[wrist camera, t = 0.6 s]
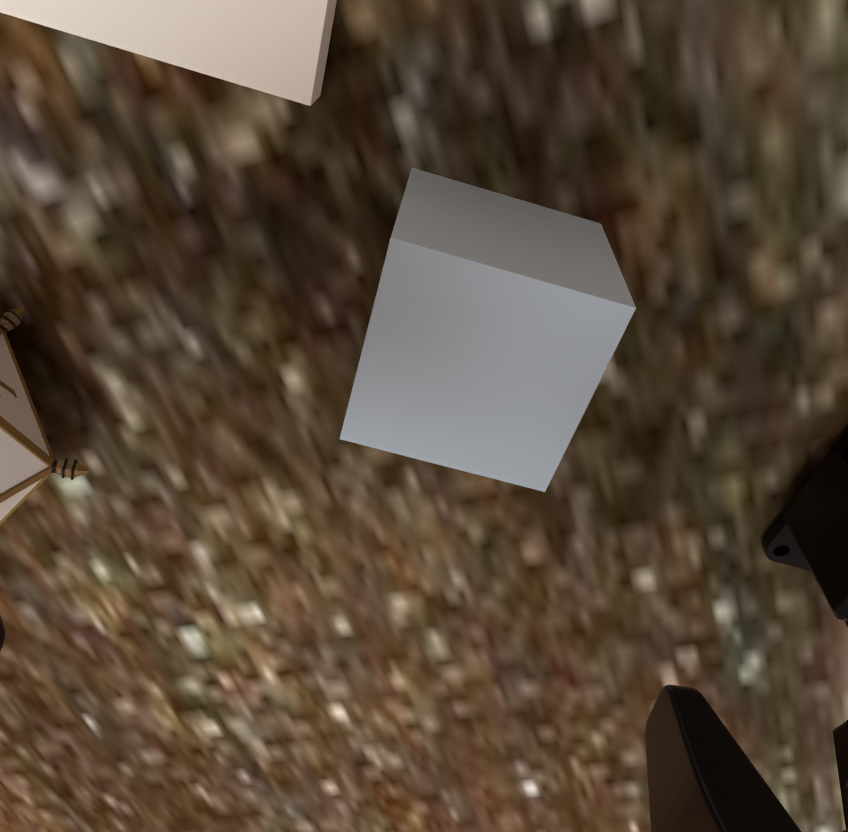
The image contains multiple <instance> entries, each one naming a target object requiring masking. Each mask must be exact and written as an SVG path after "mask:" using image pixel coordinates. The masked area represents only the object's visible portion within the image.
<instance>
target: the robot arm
mask: <svg viewBox="0 0 848 832" xmlns="http://www.w3.org/2000/svg"><path fill="white" fill-rule="evenodd" d="M781 545H783V546H781ZM778 546H781V547H778ZM776 547H778V548H776ZM762 548H763V550H764V552H765V555H766V556H767V557H768V559H770V560H772V561H775V562H779V563H783V564H787V565H791V566H795V567H799V568H803V569H806V570H810V571H812V573H813V575H814V577H815V579H816V581H817V583H818V585H819V587H820V589H821V590H822V592H823V594H824V596H825V598H826V600H827V602H828V604H829V606H830V608H831V610H832V612H833V614H834V615H835V617H836V618H837V619H840V620H844V621H845V623H846V625H847V627H848V431H847V432H846V433H845V435H844V436H843V437H842V438H841V440H840V441H839V442H838V444H837V445H836V446H835V447H834V449H833V450H832V451H831V453H830V454H829V455H828V456H827V458H826V459H825V460H824V462H823V463H822V464H821V465H820V467H819V468H818V469H817V471H816V472H815V473H814V474H813V476H812V477H811V478H810V480H809V481H808V482H807V483H806V485H805V486H804V487H803V489H802V490H801V491H800V492H799V494H798V495H797V496H796V498H795V499H794V500H793V501H792V503H791V504H790V505H789V507H788V508H787V509H786V510H785V512H784V513H783V514H782V516H781V517H780V518H779V519H778V521H777V522H776V523H775V525H774V526H773V527H772V528H771V530H770V531H769V532H768V534H767V535H766V536H765V537H764V539H763V541H762ZM4 639H5V627H4V624H3V622H2V619H1V616H0V651H1V649H2V646H3V643H4ZM833 737H834V744H835V751H836V759H837V766H838V774H839V781H840V788H841V796H842V803H843V811H844V818H845V825H846V830H845V831H843V832H848V720H847V721H846V722H844V723H843V724H841V725H840V726H839V727H837V728H836V729H834V730H833ZM645 739H646V756H647V772H648V788H649V804H650V820H651V832H801V831H800V829H799V828H798V827H797V825H796V824H795V822H794V821H793V820H792V818H791V817H790V816H789V814H788V813H787V811H786V810H785V809H784V807H783V806H782V804H781V803H780V802H779V800H778V799H777V798H776V796H775V795H774V793H773V792H772V791H771V789H770V788H769V787H768V785H767V784H766V782H765V781H764V780H763V778H762V777H761V775H760V774H759V773H758V771H757V770H756V769H755V767H754V766H753V764H752V763H751V762H750V760H749V759H748V758H747V756H746V755H745V753H744V752H743V751H742V749H741V748H740V746H739V745H738V744H737V742H736V741H735V740H734V738H733V737H732V735H731V734H730V733H729V731H728V730H727V729H726V727H725V726H724V724H723V723H722V722H721V720H720V719H719V717H718V716H717V715H716V713H715V712H714V711H713V709H712V708H711V706H710V705H709V704H708V702H707V701H706V700H705V698H704V697H703V696H702V694H701V693H700V692H699V691H697V690H696V689H694V688H690V687H682V686H675V685H666V686H665V687H663V689H662V690H661V692H660V694H659V696H658V698H657V700H656V703H655V705H654V707H653V709H652V711H651V713H650V715H649V718H648V720H647V724H646V733H645Z"/></svg>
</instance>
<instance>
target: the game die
mask: <svg viewBox="0 0 848 832" xmlns="http://www.w3.org/2000/svg"><path fill="white" fill-rule="evenodd" d="M24 308H25V306H23V307H19V308H15V309H11V310H10V309H6V310H5V311H6V312H5V313H4V315H0V525H1V524H2V523H3V522H4V521H5V520H6V519H7V518H8V517H9V516H10V515H11V514H12V513H13V512H14V511H15V510H16V509H17V508H18V507H19V506H20V505H21V504H22V503H23V502H24V501H25V500H26V499H27V498H28V497H29V496H30V495H31V494H32V493H33V492H34V490H35V489H36V488H37V487H38V486H39V485H40V484H41V483H42V482H43V481H44V480H45V479H46V478H47V477H48V476H49V475H50V474H51V473H58V474H60V475H62V478H64V477H65V476H66V477H71V480H73V479H74V477H77V476H80V475H82V474H85V473H88V472H90V471H89V470H87V469H86V468H85V467H83V466H82V465H81V464H79V463H78V461H77V460H76V459H75V460H74V461H69V460H68V459H66V458H65V460H62V461H57V460H55V458H54V455H53V452H52V450H51V447H50V445H49V442H48V440H47V437H46V435H45V432H44V429H43V427H42V424H41V422H40V419H39V417H38V414H37V412H36V409H35V406H34V404H33V401H32V399H31V396H30V394H29V391H28V389H27V386H26V383H25V381H24V378H23V376H22V373H21V371H20V368H19V366H18V363H17V361H16V358H15V355H14V353H13V350H12V348H11V345H10V343H9V340H8V338H7V335H6V334H7V332H8V331H10V330H12V329H17V326H18V325H19V324H20V323H21V324H23V321H22V319H23V314H24Z"/></svg>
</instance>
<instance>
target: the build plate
mask: <svg viewBox="0 0 848 832" xmlns="http://www.w3.org/2000/svg"><path fill="white" fill-rule="evenodd" d="M336 2H337V0H0V12H1V13H4V14H7V15H11V16H14V17H17V18H20V19H24V20H27V21H30V22H34V23H37V24H40V25H44V26H47V27H50V28H54V29H57V30H60V31H63V32H67V33H70V34H73V35H77V36H80V37H83V38H87V39H90V40H93V41H97V42H100V43H103V44H106V45H110V46H113V47H116V48H120V49H123V50H126V51H130V52H133V53H136V54H140V55H143V56H146V57H149V58H153V59H156V60H159V61H163V62H166V63H169V64H173V65H176V66H179V67H183V68H186V69H189V70H193V71H196V72H199V73H202V74H206V75H209V76H212V77H216V78H219V79H222V80H226V81H229V82H232V83H236V84H239V85H242V86H245V87H249V88H252V89H255V90H259V91H262V92H265V93H269V94H272V95H275V96H279V97H282V98H285V99H288V100H292V101H295V102H298V103H302V104H305V105H308V106H311V105H312V104H313V103H314V102H315V101H316V100H317V99H318V98H319V97H320V95H321V89H322V84H323V78H324V72H325V66H326V60H327V55H328V49H329V43H330V37H331V31H332V26H333V20H334V14H335V8H336Z"/></svg>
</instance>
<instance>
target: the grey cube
mask: <svg viewBox="0 0 848 832" xmlns="http://www.w3.org/2000/svg"><path fill="white" fill-rule="evenodd" d="M635 309H636V307H635V304H634V302H633V299H632V297H631V295H630V292H629V290H628V287H627V285H626V283H625V280H624V278H623V275H622V273H621V271H620V268H619V266H618V263H617V261H616V259H615V256H614V254H613V251H612V249H611V246H610V244H609V242H608V239H607V237H606V234H605V232H604V230H603V227H602V225H601V223H597V222H594V221H590V220H587V219H584V218H580V217H577V216H574V215H570V214H567V213H564V212H560V211H557V210H553V209H550V208H547V207H543V206H540V205H537V204H533V203H530V202H527V201H523V200H520V199H516V198H513V197H510V196H506V195H503V194H500V193H496V192H493V191H490V190H486V189H483V188H479V187H476V186H473V185H469V184H466V183H463V182H459V181H456V180H453V179H449V178H446V177H442V176H439V175H436V174H432V173H429V172H426V171H422V170H419V169H416V168H412V169H411V172H410V175H409V179H408V182H407V185H406V189H405V192H404V195H403V199H402V202H401V205H400V209H399V212H398V215H397V218H396V222H395V225H394V228H393V232H392V235H391V238H390V242H389V246H388V250H387V254H386V258H385V262H384V266H383V270H382V274H381V278H380V282H379V286H378V290H377V294H376V298H375V302H374V305H373V309H372V313H371V317H370V321H369V325H368V329H367V333H366V337H365V341H364V345H363V349H362V353H361V357H360V361H359V365H358V369H357V373H356V376H355V380H354V384H353V388H352V392H351V396H350V400H349V404H348V408H347V412H346V416H345V420H344V424H343V428H342V432H341V436H340V439H341V440H345V441H349V442H353V443H357V444H360V445H364V446H368V447H372V448H376V449H380V450H384V451H388V452H392V453H395V454H399V455H403V456H407V457H411V458H415V459H419V460H423V461H427V462H430V463H434V464H438V465H442V466H446V467H450V468H454V469H458V470H462V471H465V472H469V473H473V474H477V475H481V476H485V477H489V478H493V479H497V480H500V481H504V482H508V483H512V484H516V485H520V486H524V487H528V488H532V489H535V490H539V491H543V492H545V491H546V489H547V487H548V485H549V483H550V481H551V479H552V477H553V475H554V473H555V471H556V469H557V467H558V465H559V463H560V461H561V459H562V457H563V455H564V453H565V451H566V449H567V447H568V445H569V442H570V440H571V438H572V436H573V434H574V432H575V430H576V428H577V426H578V424H579V422H580V420H581V418H582V416H583V414H584V412H585V410H586V408H587V406H588V404H589V402H590V400H591V398H592V396H593V394H594V392H595V390H596V388H597V386H598V384H599V382H600V380H601V378H602V376H603V374H604V372H605V370H606V368H607V366H608V364H609V362H610V360H611V358H612V356H613V354H614V352H615V350H616V348H617V346H618V344H619V341H620V339H621V337H622V335H623V333H624V331H625V329H626V327H627V325H628V323H629V321H630V319H631V317H632V315H633V313H634V311H635Z"/></svg>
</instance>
